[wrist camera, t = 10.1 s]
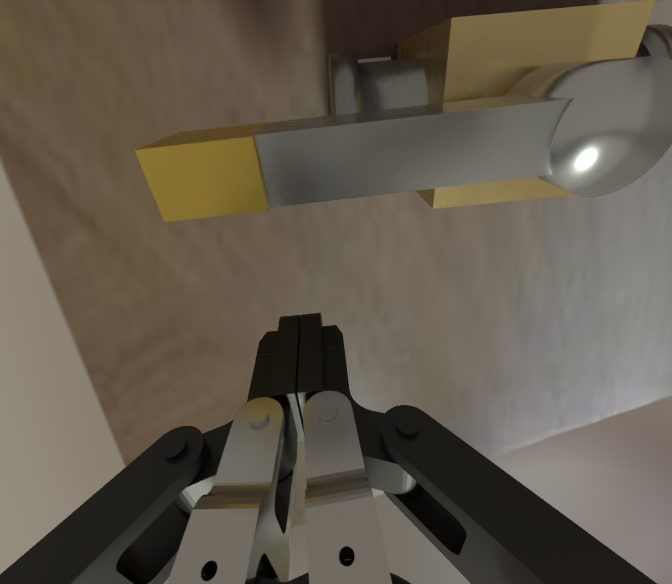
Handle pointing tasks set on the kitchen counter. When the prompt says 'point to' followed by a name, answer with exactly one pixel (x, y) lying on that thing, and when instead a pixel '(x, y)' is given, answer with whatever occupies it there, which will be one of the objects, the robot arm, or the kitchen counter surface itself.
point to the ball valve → (491, 70)
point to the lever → (429, 144)
